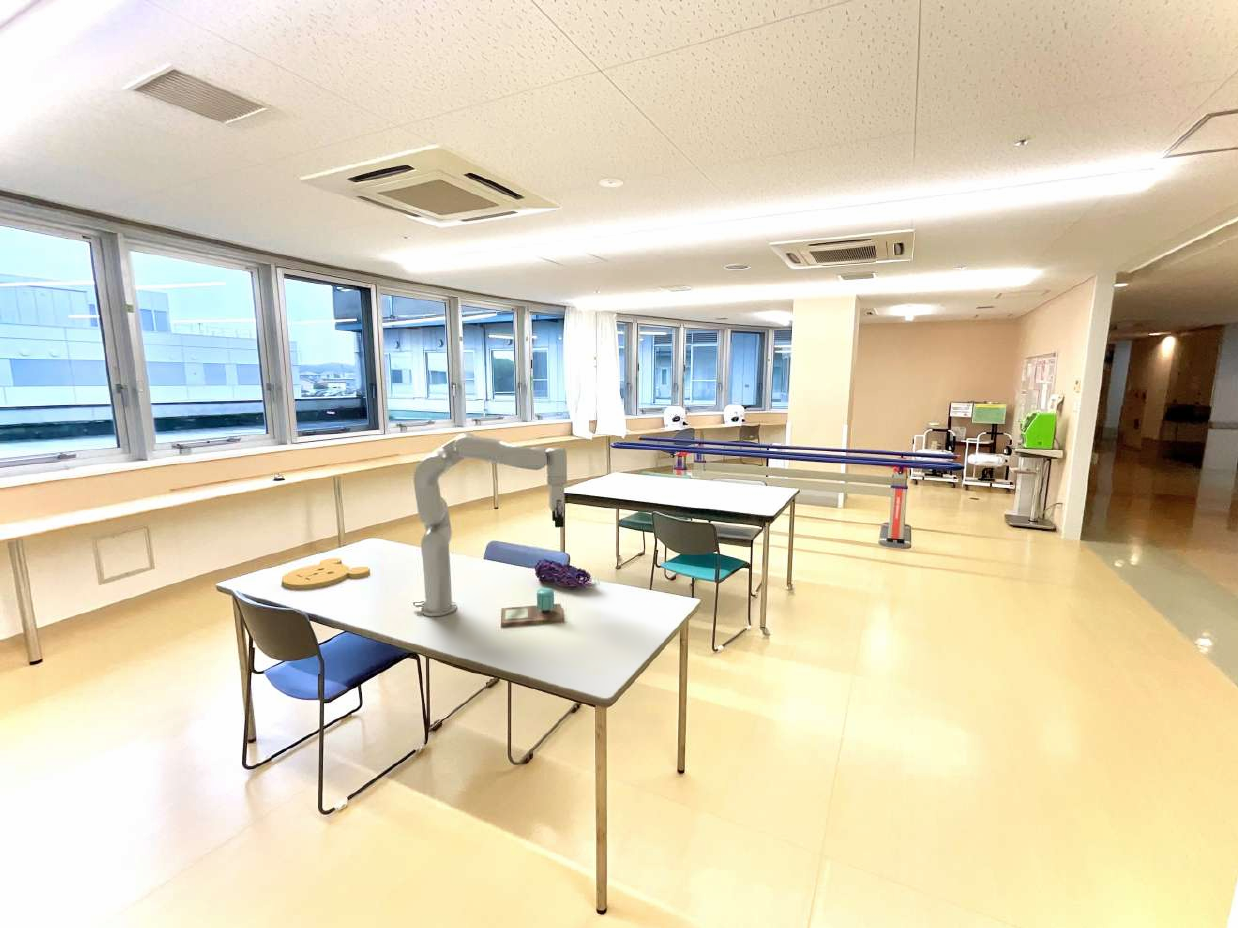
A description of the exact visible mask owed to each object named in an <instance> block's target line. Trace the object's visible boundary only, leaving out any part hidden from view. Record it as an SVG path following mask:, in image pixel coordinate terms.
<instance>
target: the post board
mask: <svg viewBox="0 0 1238 928" xmlns="http://www.w3.org/2000/svg"><path fill="white" fill-rule="evenodd" d="M556 623H557V624H558V623H565V616H564V614H563V608H562V604H561V603H554V608H552V609H550V610H540V609H537V604H536V605H526V606H514V607H511V606H510V607H501V609H500V628H509V627H510V628H511V627H512V628H513V627H521V626H534V625H544V624H545V625H547V624H556Z"/></svg>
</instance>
